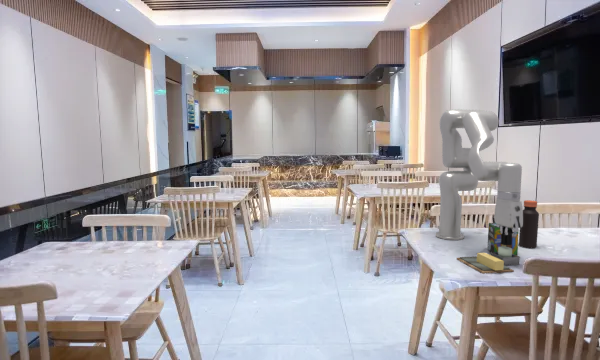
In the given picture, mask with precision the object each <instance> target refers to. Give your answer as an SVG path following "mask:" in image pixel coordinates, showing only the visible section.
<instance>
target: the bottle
mask: <svg viewBox="0 0 600 360" xmlns="http://www.w3.org/2000/svg"><path fill="white" fill-rule="evenodd" d="M523 207H524V208H523V226H522V227H521V228H519V232H518V247H521V248H525V249H536V248H537V247H538V236H539V235H538V234H539V222H540V221H539V219H540V214H539V212H538V210H537V207H538V201H536V200H529V199H528V200H523Z"/></svg>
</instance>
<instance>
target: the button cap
mask: <svg viewBox="0 0 600 360" xmlns="http://www.w3.org/2000/svg"><path fill="white" fill-rule="evenodd" d="M498 255H499V256H502V257H512V248H509V247H503V246H501V247H498Z"/></svg>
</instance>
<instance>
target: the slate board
mask: <svg viewBox="0 0 600 360" xmlns="http://www.w3.org/2000/svg"><path fill="white" fill-rule="evenodd" d="M456 260H457V261H459V262H461V263H463V264H464V265H465V266H468V267H470V268H472V269H473V270H475V271H477V272H479V273H481V274H483V275H484V274H485V273H486V274H499V273H514V271H515V270H514V269H513V268H512V269H511V268H510V267H508V266H505V265H504V268H503V270H496V271H495V270H493V269H491V268H489V267H487V266H485V265H483V264H481V263H479V262H477V255H475V256H459V257H456Z"/></svg>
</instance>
